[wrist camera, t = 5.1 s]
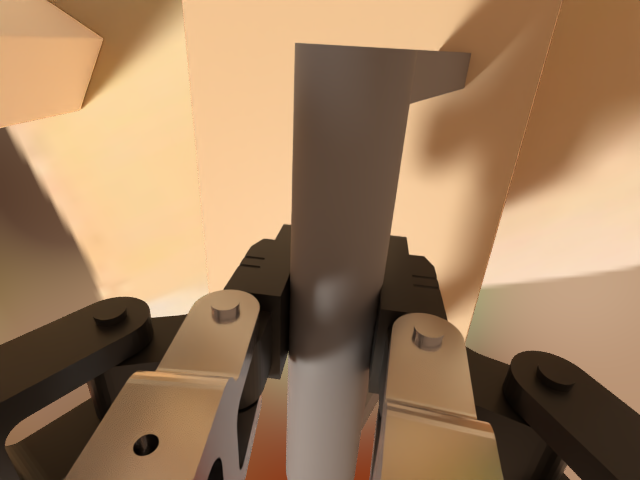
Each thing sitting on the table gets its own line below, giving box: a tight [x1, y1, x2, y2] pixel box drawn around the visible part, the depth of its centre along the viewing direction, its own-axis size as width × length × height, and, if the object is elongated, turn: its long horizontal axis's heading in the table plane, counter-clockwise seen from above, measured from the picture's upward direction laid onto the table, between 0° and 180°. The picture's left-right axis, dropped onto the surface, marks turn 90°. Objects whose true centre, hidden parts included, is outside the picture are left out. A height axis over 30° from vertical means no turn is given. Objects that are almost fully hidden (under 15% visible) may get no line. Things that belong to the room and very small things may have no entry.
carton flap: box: [182, 0, 563, 480], centre depth 13 cm, size 16×14×9 cm
